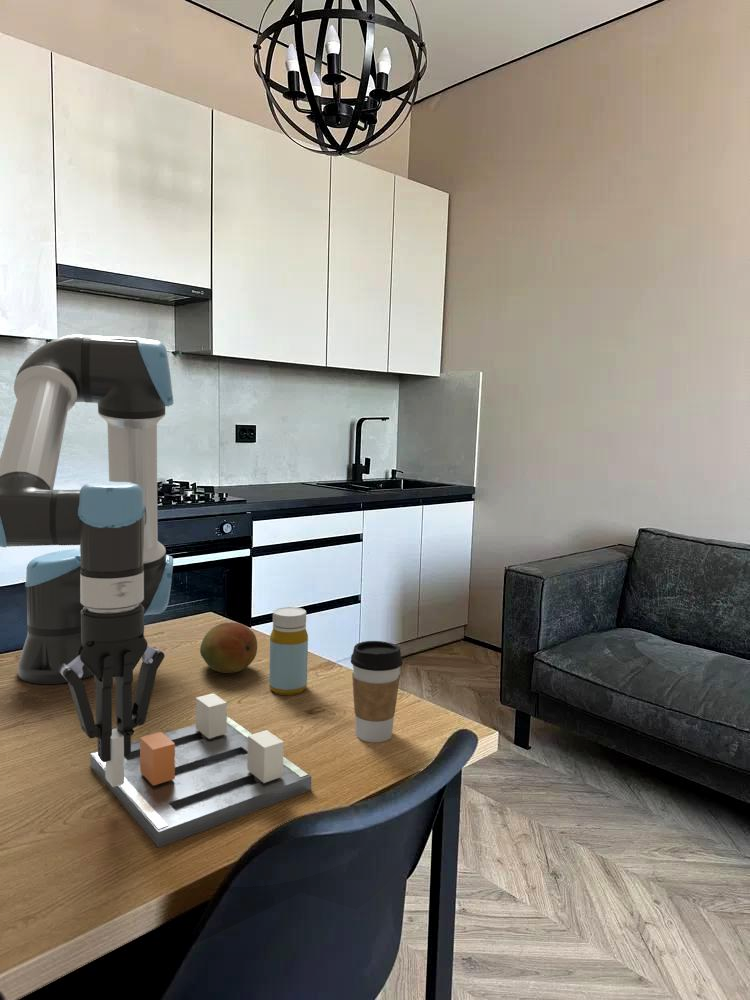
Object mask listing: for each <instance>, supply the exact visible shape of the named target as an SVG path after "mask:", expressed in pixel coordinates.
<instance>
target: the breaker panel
mask: <svg viewBox="0 0 750 1000" xmlns="http://www.w3.org/2000/svg"><path fill="white" fill-rule="evenodd" d="M162 733H163V734H165V735H166V736H167V737H168V738H169V739H170V740H171V741H172V742H174V743H175V779H173V780H170V781H166V782H163V783H160V784H157V785H154V786H153V785H152V784H151V785H150V783H149V782H148V781H147V779H146V778H145V777H144V775H143V774H142V773H141V772H140V739H138V740H134V741H131V752H130V755H127V756H124V784H122V785H118V786H115V787H112V786H111V785H110V783H109V782H108V781H107V780H106V779H105V762H102V761H101V760H100V758H99V756H98V751H94V752H91V753H90V754H89V757H90V761H89V762H90V769H92V771H94V773H95V774H96V775H97V776H98V777H99V779H100V780H101V782H103V783H104V784H105V786H106V787H107V788H108V789H109V790H110V792H111V793H112V794H113V795H114V797H115V798H116V799H117V800H118V802H120V804H121V805H122V806H123V807H124V809H125V810H126V811H127V812H128V813H129V815H130V816H131V817H132V818H133V819H134V821H136V823H137V824H138V825H139V826H140V828H141V829H142V830H143V832H145V833H146V835H147V836H148V837H149V838H150V839H151V841H152V842H153V843H154V844H155V845H156V847H158V848H162V847H165V846H167V845H169V844H170V845H171V844H173V843H175V842H178V841H180V840H183V839H185V838H189V837H191V836H193V835H196V834H199V833H201V832H204V831H207V830H209V829H211V828H214V827H217V826H219V825H222V824H225V823H227V822H230V821H233V820H235V819H238V818H241V817H242V816H246V815H249V814H250V813H254V812H256V811H258V810H261V809H264V808H267V807H269V806H272V805H275V804H277V803H280V802H282V801H285V800H287V799H290V798H294V797H295V796H298V795H301V794H303V793H307V792H309V791H311V790H312V775H310V774H309V773H308V772H306V771H305V770H304V769H303V768H301V767H300V766H298V765H297V764H295V763H294V762H292V761H291V760H290V759H288V758H287V757H285V756H284V755H283V777H280V778H277V779H274V780H271V781H268V782H266V783H263V782H259V783H258V782H256V781H255V780H254V775H253V774H252V773H251V772H249V771H248V770H247V763H248V735H252V734H253V732H251V731H249V730H248V729H247V728H245V727H244V726H242V725H241V724H239V723H238V722H237V721H235V720H234V719H233V718H231V717H230V716H228V715H227V734H223V735H220V736H216V737H213V738H210V739H208V738H205V739H204V738H202V737H201V736H202V733H201V732H200V731H198V730H197V729H196V724H193V725H189V726H185V727H182V728H179V729H174V730H172V731H167V732H162Z"/></svg>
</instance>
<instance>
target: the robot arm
mask: <svg viewBox="0 0 750 1000" xmlns="http://www.w3.org/2000/svg"><path fill="white" fill-rule="evenodd" d="M170 370H171V368H170V363H169V356H168V351H167V347H166V346H165V344H164V343H163V342H161V341H159V340H154V339H148V338H142V337H129V336H128V337H126V336H125V337H124V336H103V335H85V334H71V335H64V336H60V337H59V338H55V339H53V340H51V341H49V342H47V343H45V344H44V345H41V346H40V347H39V348H37V349H36V350H35V351H33V352H32V353H31V354H30V355H29V356H28V357H27V358H26V359H25V360H24V361H23V362H22V364H21V365H20V367H19V369H18V372H17V373H16V375H15V380H14V383H13V391H14V395H15V397H16V402H15V406H14V409H13V412H12V416H11V419H10V423H9V427H8V430H7V434H6V436H5V441H4V444H3V447H2V450H1V453H0V454H1V455H0V547H1V548H7V547H34V546H35V547H37V546H79V548H73V549H65V550H57V551H53V552H49V553H44V554H41V555H39V556H36V557H34V558H33V559H31V560H30V561H29V562H28V564H27V565H26V572H25V573H26V574H25V575H26V576H25V583H24V586H25V590H26V591H25V593H26V594H25V596H26V622H27V624H26V625H27V635H26V639H25V641H24V644H23V648H22V651H21V654H20V658H19V660H18V664H17V670H18V671H17V673H18V674H17V675H18V677H19V679H20V680H22V681H24V682H26V683H31V684H39V685H57V684H58V685H59V684H66V683H67V684H68V688H69V691H70V695H71V697H72V701H73V703H74V707H75V710H76V713H77V717H78V721H79V724H80V728H81V730H82V731H83V733H85V735H86V736H87V738H89V739H94V738H97V752H98V756H99V758H100V760H101V761H102V762H105V779H106V780H107V781H108V782H109V783H110V785H111V786H112V787H115V786H118V785H122V784H124V756H127V755H130V752H131V742H132V741H131V740H132V737H131V736H133V734H134V733H135V729H134V728H137V726H140V727H141V726H143V725H145V723H146V720H147V716H148V712H149V708H150V707H149V706H150V702H151V698H152V693H153V690H154V686H155V681H156V676H157V672H158V669H159V667H160V665H161V664H162V663H163V661H164V658H165V653H164V652H163V651H162V650H160V649H159V648H157V647H156V646H149V645H148V644H149V643H148V641H147V639H146V638H145V634H144V633H145V616H147V615H150V616H151V615H159V614H160V615H161V614H162V613H164V612H165V611H166V610H167V607H168V605H169V600H170V595H171V589H172V578H173V577H172V576H173V569H174V557H173V556H171V555H169V554H167V551H166V550H167V549H166V547H165V546H164V544H162V543H161V542H160V541H158V540H159V539H158V535H159V533H158V527H159V526H158V423H159V422H160V421H161V420H162V419H163V418H164V417H165V416H166V407H171V406H173V405H174V395H173V385H172V377H171V371H170ZM76 403H87V404H88V403H89V404H91V403H93V404H97V412H98V415H99V417H101V418H102V419H103V420H105V422H106V423H107V452H108V457H107V458H108V481H98V482H97V481H96V482H90V483H85V484H84V485H83V486H81V488H80V489H54V486H55V482H56V476H57V469H58V465H59V460H60V454H61V448H62V443H63V438H64V432H65V427H66V423H67V418H68V412H69V411H70V410H72V408H73V407H74V406H75V404H76ZM140 660H142V662H141V664H140V668H139V672H138V676H137V682H136V686H135V689H134V695H133V694H132V693H133V691H132V689H133V687H132V686H133V685H132V684H133V682H134V669H135V668H136V666H137V665H138V664H139V662H140ZM92 676H93V678H94V683H95V719H94V714H93V712H92V708H91V704H90V701H89V697H88V694H87V691H86V687H85V685H84V682H83V680H84V679H87V678H89V677H92ZM114 679H115V725H116V727H117V728H113V702H112V701H113V694H112V693H113V692H112V691H113V689H112V688H113V686H114ZM132 697H133V698H132Z"/></svg>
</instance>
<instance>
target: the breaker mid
mask: <svg viewBox="0 0 750 1000" xmlns="http://www.w3.org/2000/svg"><path fill="white" fill-rule="evenodd" d="M163 733H164V732H163V731H159V732H158V731H157V732H154V733H151V734H148V735H144V736H140V738H139V740H140V772H141V773H142V774H143V775H144V777H145V778H146V779H147V781H148V782H149V783H150V785H151V784H152V785H153V786H154V785H157V784H160V783H163V782H166V781H170V780H173V779H175V743H174V742H172V741H171V740H170V739H169V738H168V737H167V736H166V735H165V734H163Z"/></svg>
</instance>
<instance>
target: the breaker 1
mask: <svg viewBox="0 0 750 1000" xmlns="http://www.w3.org/2000/svg"><path fill="white" fill-rule="evenodd" d="M227 712H228V703H227V701H226V700H224V699H223V698H221V697H220V696H218V695H217V694H215V693H213V692H212V693H210V694H205V695H202V696H201V695H200V696H197V697H195V725H196V729H197V730H198V731H200V732H201V733H202V736H201V737H202V738H204V739H205V738H208V739H210V738H213V737H216V736H220V735H223V734H227V716H228V713H227Z"/></svg>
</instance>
